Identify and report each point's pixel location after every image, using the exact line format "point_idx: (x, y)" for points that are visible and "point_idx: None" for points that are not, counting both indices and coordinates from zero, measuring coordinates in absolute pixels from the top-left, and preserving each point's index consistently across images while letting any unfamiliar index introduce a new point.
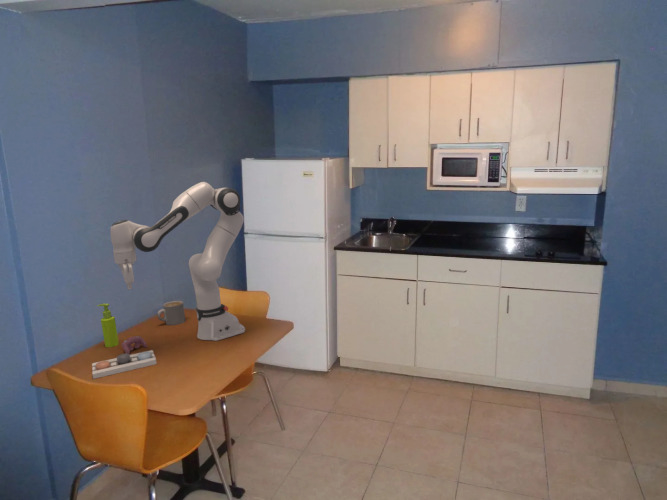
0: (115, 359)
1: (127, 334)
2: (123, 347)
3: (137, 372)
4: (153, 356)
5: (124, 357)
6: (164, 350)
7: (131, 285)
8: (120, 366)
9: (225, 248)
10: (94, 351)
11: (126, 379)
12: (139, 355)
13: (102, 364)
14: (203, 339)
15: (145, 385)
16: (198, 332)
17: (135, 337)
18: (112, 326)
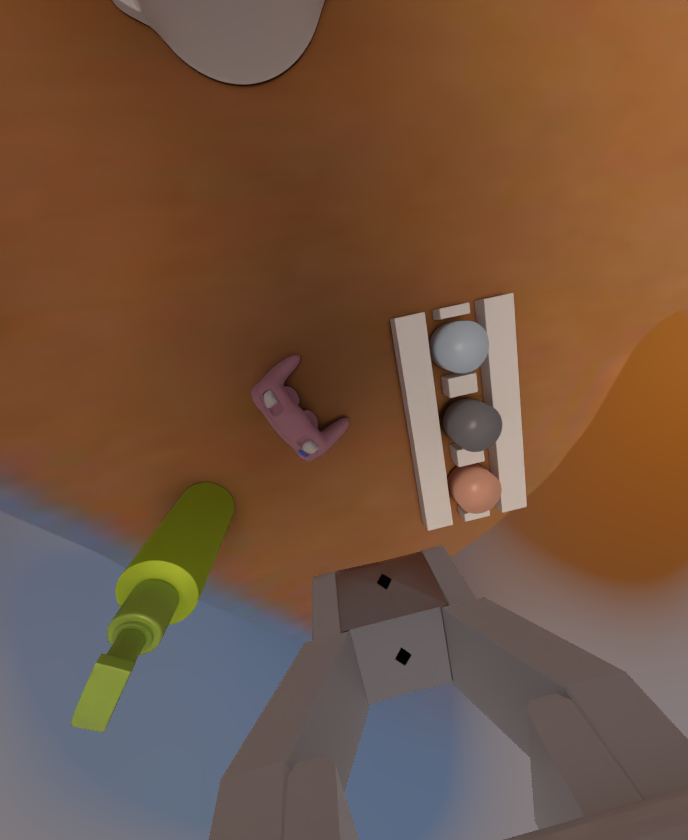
0: (430, 457)
1: (83, 467)
2: (329, 448)
3: (541, 362)
4: (469, 308)
5: (498, 420)
6: (365, 270)
7: (475, 598)
8: (508, 426)
9: None
10: (259, 553)
11: (578, 392)
12: (470, 365)
13: (490, 491)
14: (306, 43)
15: (662, 320)
16: (255, 47)
17: (286, 408)
18: (199, 541)
